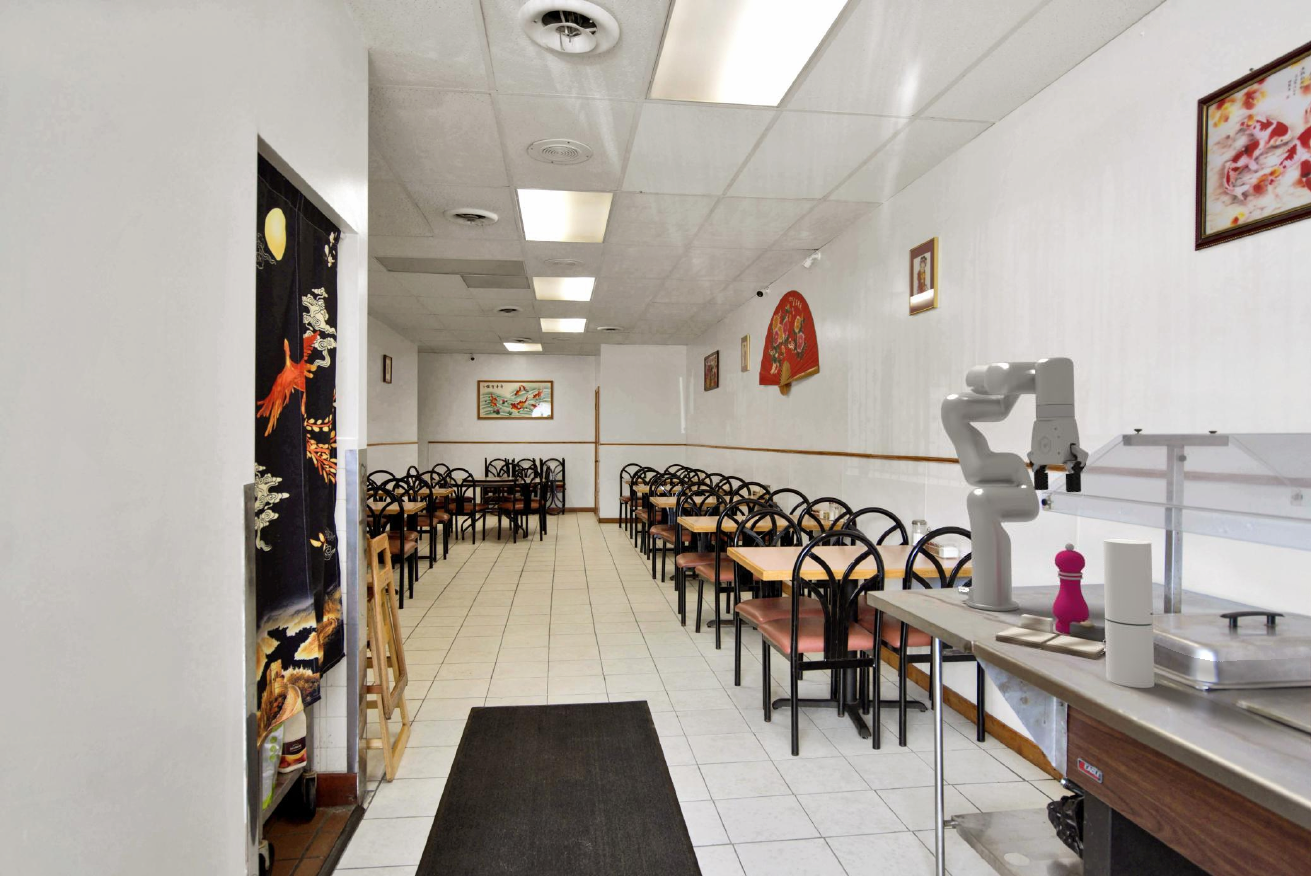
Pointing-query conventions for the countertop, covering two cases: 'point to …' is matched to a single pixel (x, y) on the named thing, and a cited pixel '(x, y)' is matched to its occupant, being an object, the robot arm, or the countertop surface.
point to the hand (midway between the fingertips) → (1057, 491)
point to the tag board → (1056, 636)
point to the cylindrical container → (1129, 612)
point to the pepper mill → (1069, 590)
